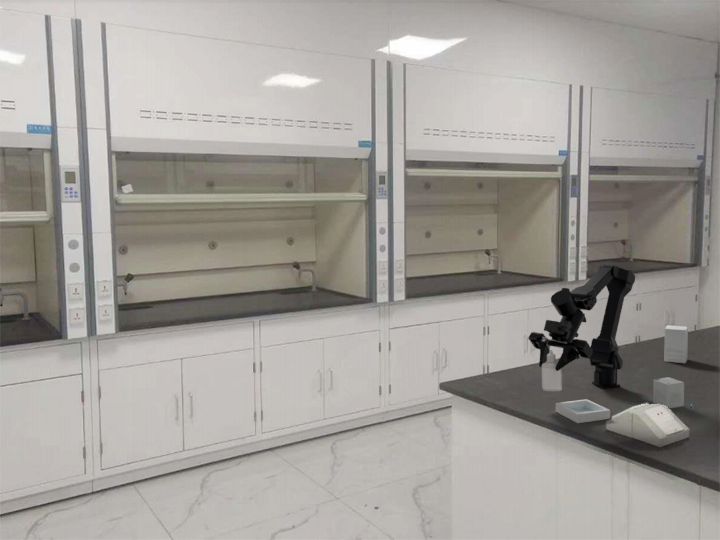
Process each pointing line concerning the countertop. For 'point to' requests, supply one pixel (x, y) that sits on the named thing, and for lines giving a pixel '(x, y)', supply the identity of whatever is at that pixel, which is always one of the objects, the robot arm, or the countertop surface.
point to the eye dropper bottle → (551, 374)
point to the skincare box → (668, 392)
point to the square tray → (582, 411)
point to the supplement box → (676, 344)
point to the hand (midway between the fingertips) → (548, 368)
